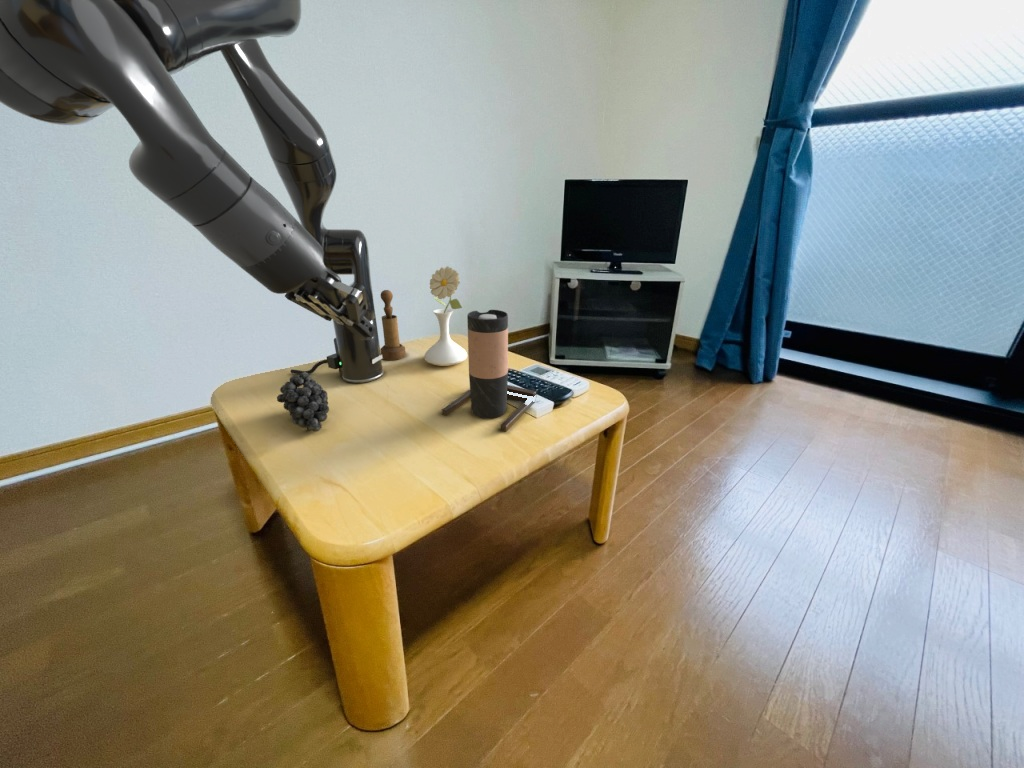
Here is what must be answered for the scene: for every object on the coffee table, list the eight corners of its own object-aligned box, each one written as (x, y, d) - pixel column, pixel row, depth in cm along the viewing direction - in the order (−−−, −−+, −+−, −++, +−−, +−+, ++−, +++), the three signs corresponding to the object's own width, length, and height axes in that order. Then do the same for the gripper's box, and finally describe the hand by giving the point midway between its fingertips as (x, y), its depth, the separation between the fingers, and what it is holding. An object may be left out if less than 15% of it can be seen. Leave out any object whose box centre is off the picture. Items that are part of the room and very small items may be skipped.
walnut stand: (442, 414, 78) (441, 403, 77) (478, 388, 90) (478, 378, 89) (506, 431, 73) (506, 420, 72) (536, 401, 84) (536, 391, 83)
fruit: (319, 390, 66) (309, 360, 78) (270, 415, 64) (267, 380, 75) (344, 427, 71) (331, 394, 83) (299, 452, 69) (292, 414, 80)
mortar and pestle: (399, 361, 104) (391, 293, 97) (376, 359, 106) (367, 292, 98) (409, 353, 110) (403, 288, 103) (388, 351, 112) (380, 287, 104)
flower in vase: (416, 360, 105) (407, 264, 95) (451, 351, 112) (446, 260, 102) (443, 375, 96) (437, 270, 86) (480, 364, 103) (478, 266, 93)
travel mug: (495, 423, 75) (495, 321, 67) (462, 413, 79) (458, 316, 70) (514, 406, 82) (515, 312, 73) (483, 398, 85) (481, 307, 77)
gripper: (323, 208, 39) (417, 316, 53) (247, 214, 45) (350, 310, 59) (281, 265, 36) (392, 363, 50) (206, 264, 42) (324, 352, 56)
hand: (369, 334), depth 54 cm, fingers closed
